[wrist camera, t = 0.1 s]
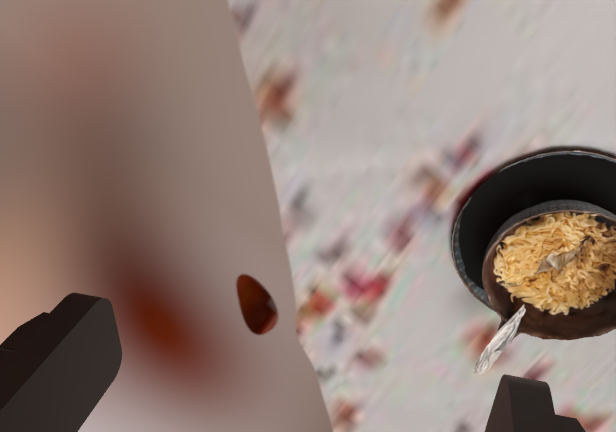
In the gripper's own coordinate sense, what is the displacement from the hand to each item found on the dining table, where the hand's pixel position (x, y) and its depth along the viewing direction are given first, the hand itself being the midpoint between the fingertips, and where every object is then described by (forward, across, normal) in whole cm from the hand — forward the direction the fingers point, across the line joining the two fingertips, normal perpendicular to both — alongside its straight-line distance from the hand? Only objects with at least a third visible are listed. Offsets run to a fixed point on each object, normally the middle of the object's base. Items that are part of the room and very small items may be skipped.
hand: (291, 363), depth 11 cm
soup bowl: (+30, -12, +14) cm, 35 cm away
